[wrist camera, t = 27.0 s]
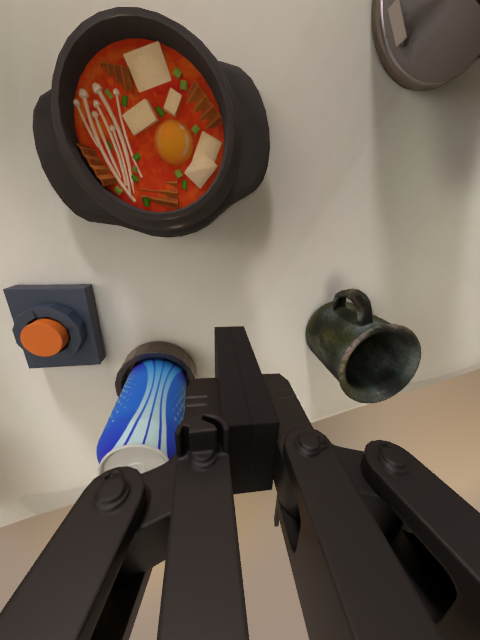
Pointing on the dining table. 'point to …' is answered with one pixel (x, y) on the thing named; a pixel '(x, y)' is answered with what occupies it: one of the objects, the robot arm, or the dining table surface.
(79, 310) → the button base
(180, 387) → the beer can
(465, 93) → the dining table surface
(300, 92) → the dining table surface
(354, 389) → the mug
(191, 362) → the dock
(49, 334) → the button
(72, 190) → the casserole
